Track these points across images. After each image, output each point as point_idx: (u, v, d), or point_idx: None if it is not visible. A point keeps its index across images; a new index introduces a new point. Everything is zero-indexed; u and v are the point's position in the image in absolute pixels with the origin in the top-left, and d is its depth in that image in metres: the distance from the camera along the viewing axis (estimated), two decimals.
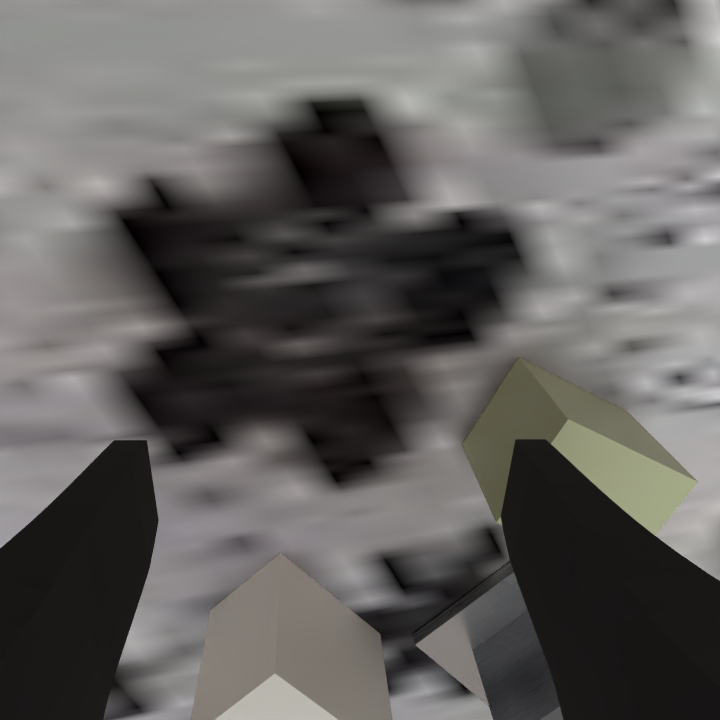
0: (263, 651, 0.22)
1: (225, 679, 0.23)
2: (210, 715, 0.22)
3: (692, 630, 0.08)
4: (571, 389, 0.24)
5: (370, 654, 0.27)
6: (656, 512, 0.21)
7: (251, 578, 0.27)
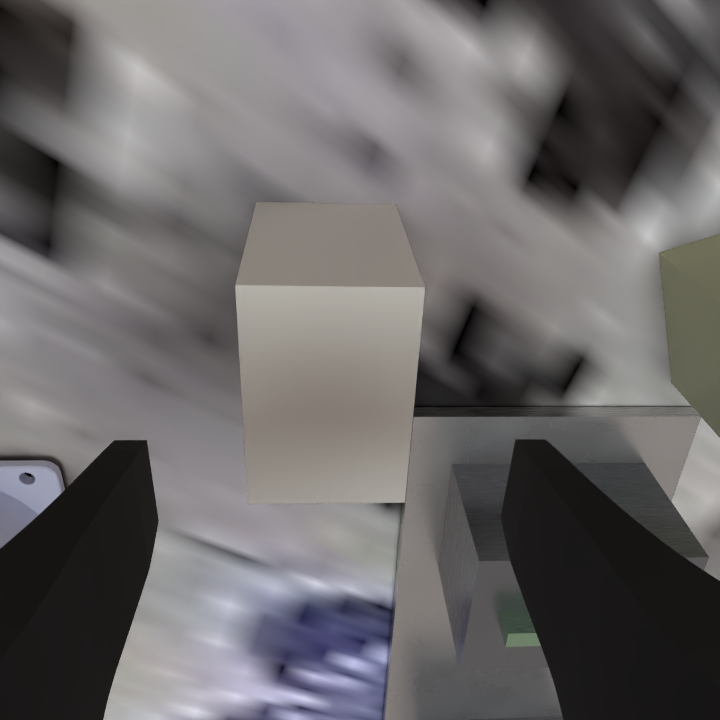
0: (389, 263, 0.15)
1: (311, 261, 0.15)
2: (285, 279, 0.14)
3: (692, 630, 0.08)
4: None
5: None
6: None
7: (339, 204, 0.19)
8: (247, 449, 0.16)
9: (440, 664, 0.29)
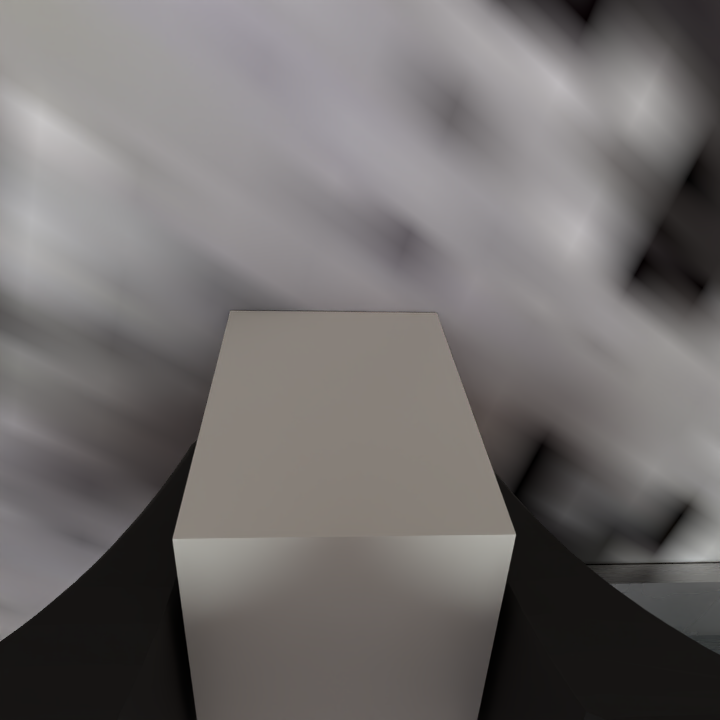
0: (444, 461, 0.09)
1: (311, 460, 0.09)
2: (264, 517, 0.08)
3: (565, 633, 0.08)
4: None
5: None
6: None
7: (354, 315, 0.13)
8: None
9: None
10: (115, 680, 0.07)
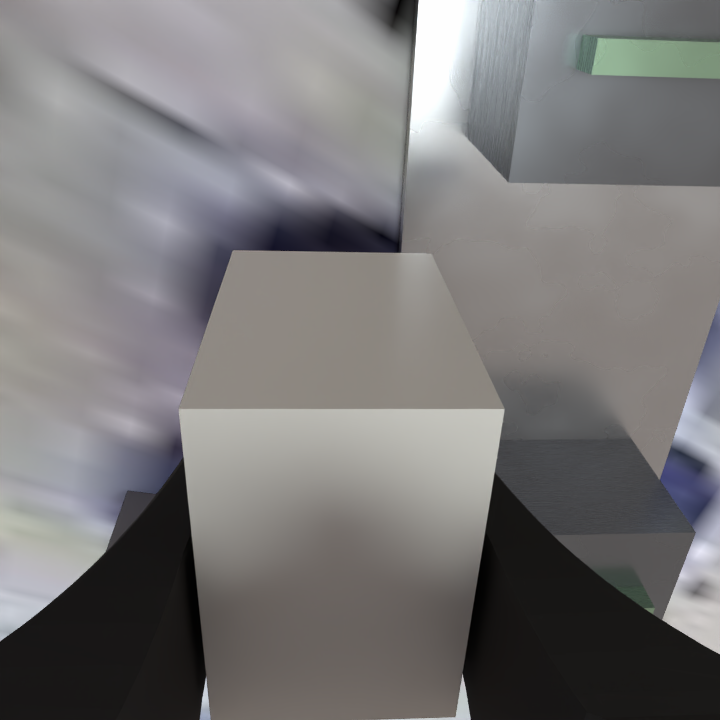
0: (437, 358, 0.10)
1: (311, 355, 0.09)
2: (266, 395, 0.08)
3: (565, 633, 0.08)
4: None
5: None
6: None
7: (352, 254, 0.13)
8: (208, 651, 0.10)
9: None
10: (115, 680, 0.07)
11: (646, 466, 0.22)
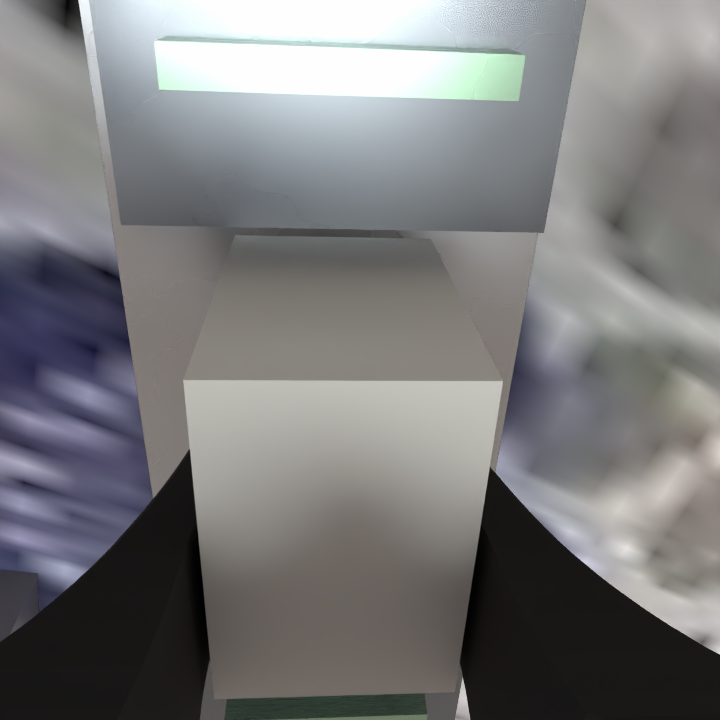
0: (436, 334, 0.10)
1: (312, 332, 0.10)
2: (268, 368, 0.09)
3: (565, 633, 0.08)
4: None
5: None
6: None
7: (352, 239, 0.14)
8: (211, 624, 0.10)
9: None
10: (115, 680, 0.07)
11: None
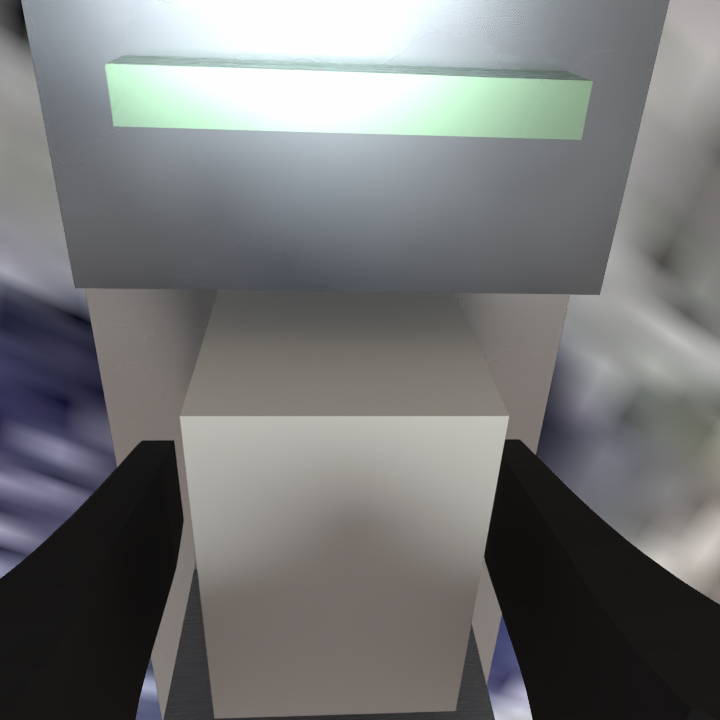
0: (440, 361, 0.09)
1: (313, 357, 0.09)
2: (268, 401, 0.08)
3: (651, 631, 0.08)
4: None
5: None
6: None
7: None
8: (211, 649, 0.10)
9: None
10: (12, 683, 0.07)
11: None
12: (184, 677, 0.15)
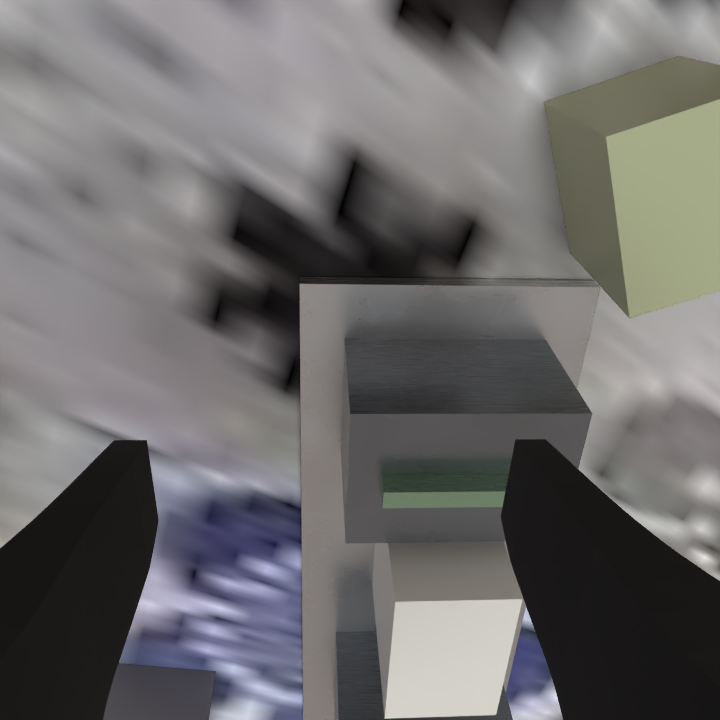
0: (492, 566, 0.22)
1: (438, 565, 0.22)
2: (426, 592, 0.21)
3: (692, 630, 0.08)
4: None
5: None
6: None
7: None
8: (389, 687, 0.23)
9: (354, 568, 0.28)
10: None
11: None
12: (344, 696, 0.28)
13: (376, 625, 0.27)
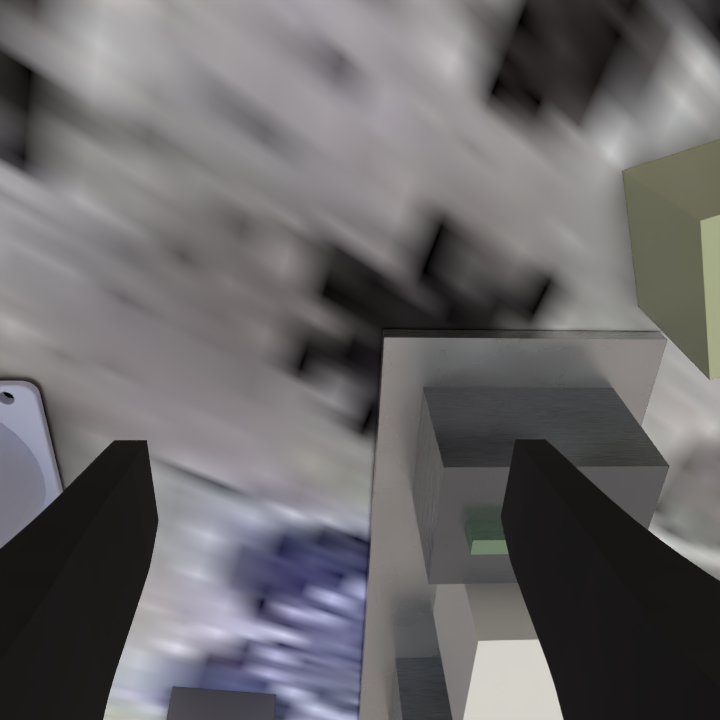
0: None
1: (514, 604, 0.23)
2: (506, 631, 0.22)
3: (692, 630, 0.08)
4: None
5: None
6: None
7: None
8: (464, 719, 0.24)
9: (417, 598, 0.29)
10: None
11: None
12: None
13: (441, 655, 0.28)
